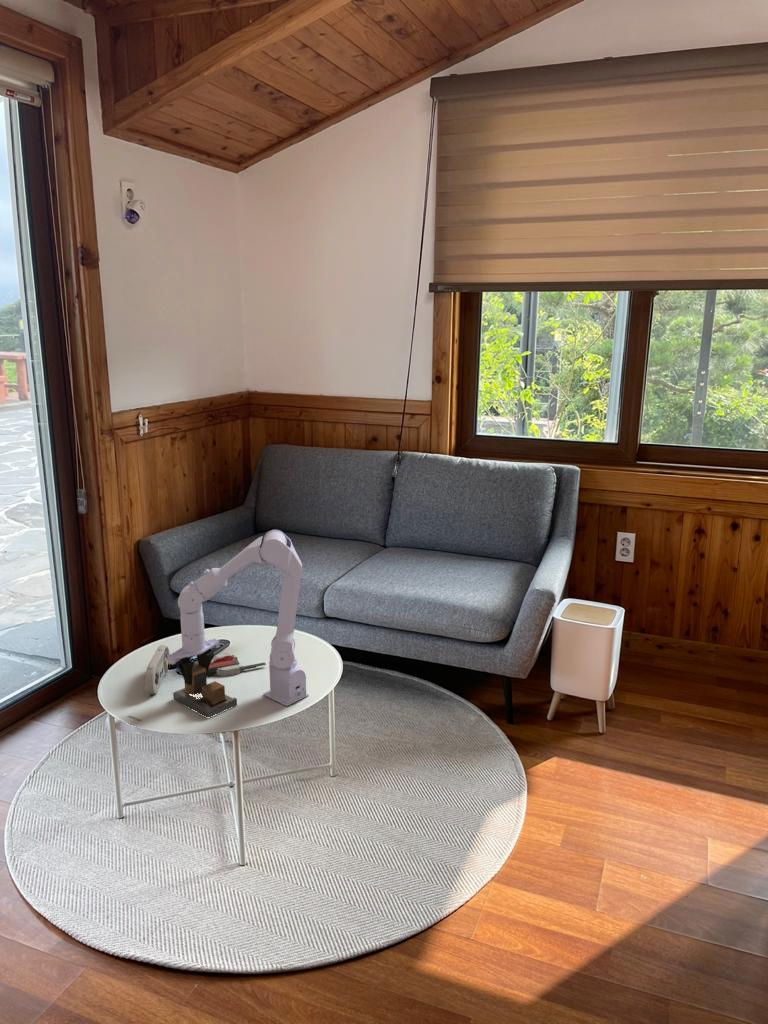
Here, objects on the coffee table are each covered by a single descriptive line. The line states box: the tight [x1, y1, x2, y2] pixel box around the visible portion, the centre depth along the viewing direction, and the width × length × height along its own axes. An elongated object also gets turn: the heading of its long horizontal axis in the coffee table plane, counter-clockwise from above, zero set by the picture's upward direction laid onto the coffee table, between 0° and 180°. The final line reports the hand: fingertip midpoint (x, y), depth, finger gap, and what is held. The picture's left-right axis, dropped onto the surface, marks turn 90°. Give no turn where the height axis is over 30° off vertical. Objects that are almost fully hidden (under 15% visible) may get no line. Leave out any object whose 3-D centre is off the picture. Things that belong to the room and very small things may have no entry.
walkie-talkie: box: [193, 652, 267, 677], centre depth 219 cm, size 9×4×20 cm
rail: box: [172, 680, 238, 718], centre depth 199 cm, size 15×9×6 cm, turn 48°
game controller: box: [144, 644, 170, 695], centre depth 210 cm, size 20×2×8 cm, turn 3°
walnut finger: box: [184, 664, 208, 695], centre depth 201 cm, size 5×4×6 cm
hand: (195, 680), depth 201 cm, fingers closed on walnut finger, 4 cm apart
